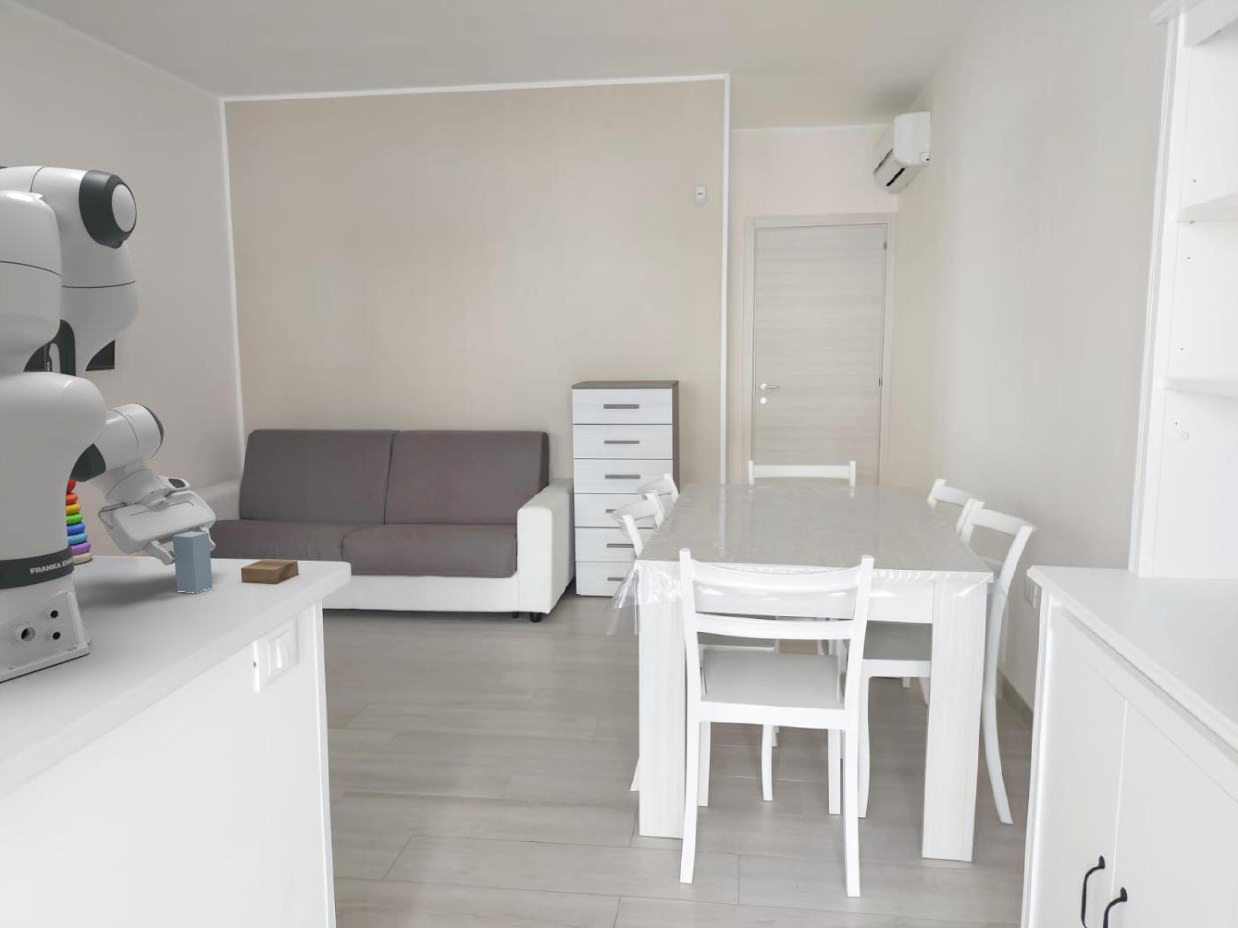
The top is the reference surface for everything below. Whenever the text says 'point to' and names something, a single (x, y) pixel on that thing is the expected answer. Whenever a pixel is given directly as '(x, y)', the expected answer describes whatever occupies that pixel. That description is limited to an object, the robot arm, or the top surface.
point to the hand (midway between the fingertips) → (192, 555)
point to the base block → (269, 571)
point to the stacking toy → (76, 527)
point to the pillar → (192, 561)
